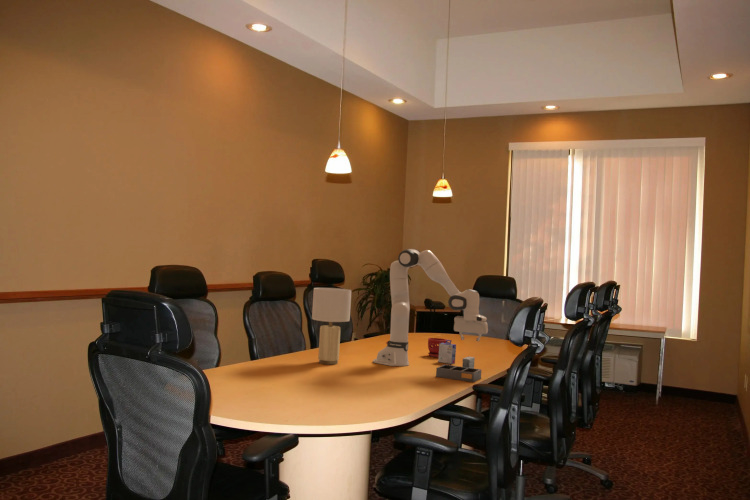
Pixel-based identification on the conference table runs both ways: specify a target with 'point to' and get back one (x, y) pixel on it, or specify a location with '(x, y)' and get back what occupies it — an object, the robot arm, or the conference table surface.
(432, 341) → the plant pot
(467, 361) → the grey rectangular block
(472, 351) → the conference table surface
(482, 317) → the robot arm
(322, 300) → the lamp
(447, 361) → the ink cartridge box
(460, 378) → the slot rack
